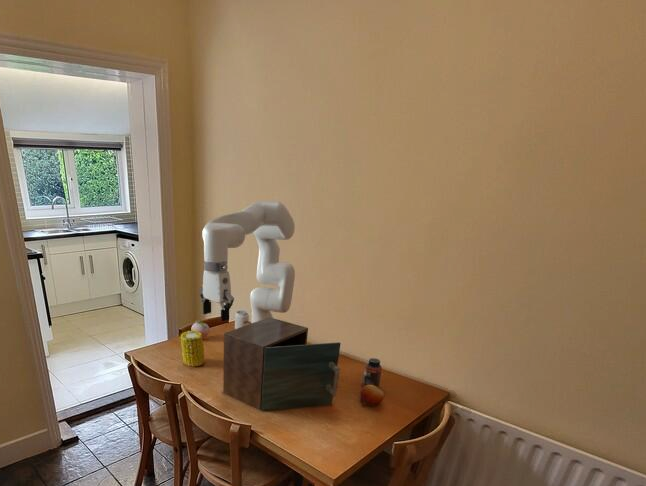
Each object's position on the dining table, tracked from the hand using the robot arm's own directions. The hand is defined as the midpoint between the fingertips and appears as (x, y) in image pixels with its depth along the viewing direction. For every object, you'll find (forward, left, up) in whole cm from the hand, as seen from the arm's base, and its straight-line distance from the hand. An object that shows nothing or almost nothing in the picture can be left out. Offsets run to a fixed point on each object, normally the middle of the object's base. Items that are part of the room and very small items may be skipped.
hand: (215, 316), depth 140 cm
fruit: (-36, +43, -31) cm, 64 cm away
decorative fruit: (-36, -47, -31) cm, 67 cm away
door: (-13, +29, -31) cm, 44 cm away
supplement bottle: (-48, +37, -31) cm, 68 cm away
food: (-14, -28, -31) cm, 44 cm away
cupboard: (-17, +9, -31) cm, 36 cm away
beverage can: (-56, -37, -31) cm, 74 cm away
